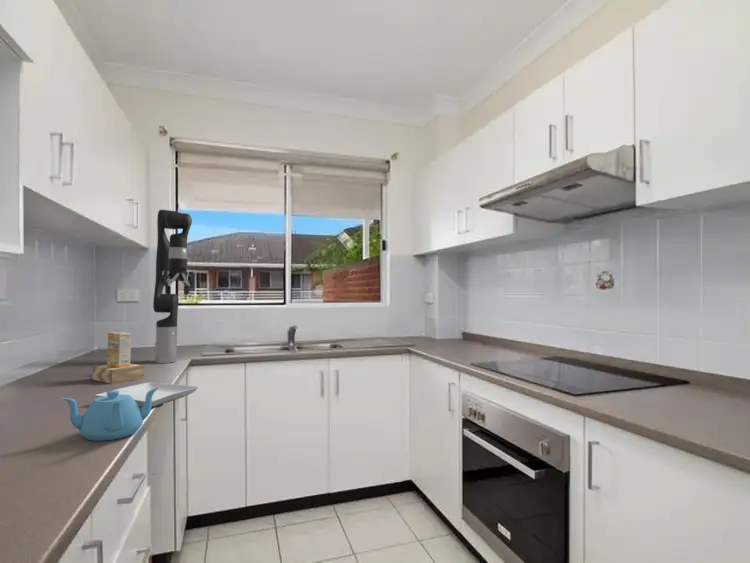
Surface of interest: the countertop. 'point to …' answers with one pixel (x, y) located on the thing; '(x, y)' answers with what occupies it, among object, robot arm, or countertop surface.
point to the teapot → (110, 416)
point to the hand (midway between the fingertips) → (177, 294)
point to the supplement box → (119, 349)
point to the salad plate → (160, 395)
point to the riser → (117, 373)
